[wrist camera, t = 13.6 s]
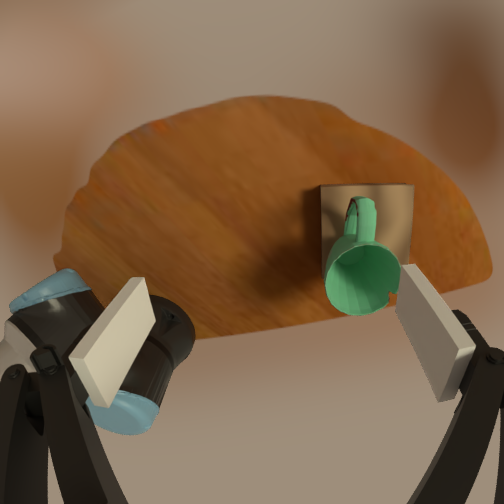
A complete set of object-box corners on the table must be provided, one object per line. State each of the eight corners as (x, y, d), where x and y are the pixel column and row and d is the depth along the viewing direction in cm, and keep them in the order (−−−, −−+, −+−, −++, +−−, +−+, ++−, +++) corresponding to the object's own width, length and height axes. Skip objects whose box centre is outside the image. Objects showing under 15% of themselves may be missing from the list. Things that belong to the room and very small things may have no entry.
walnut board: (319, 269, 51) (322, 278, 48) (318, 182, 45) (320, 187, 43) (401, 264, 49) (407, 272, 47) (406, 181, 44) (414, 185, 41)
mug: (377, 277, 47) (396, 312, 38) (316, 281, 48) (323, 318, 39) (382, 183, 42) (409, 201, 32) (314, 185, 43) (324, 203, 33)
